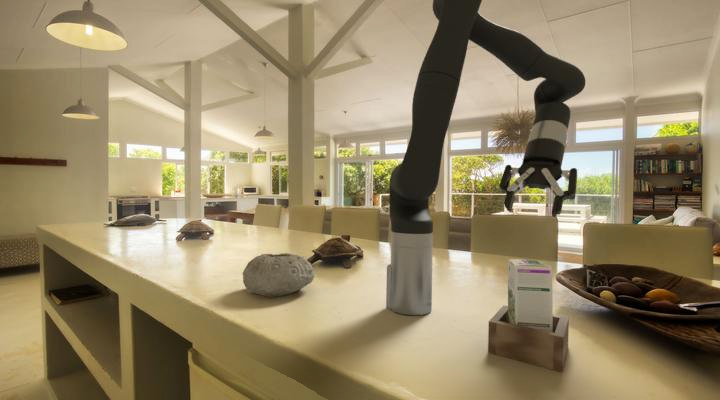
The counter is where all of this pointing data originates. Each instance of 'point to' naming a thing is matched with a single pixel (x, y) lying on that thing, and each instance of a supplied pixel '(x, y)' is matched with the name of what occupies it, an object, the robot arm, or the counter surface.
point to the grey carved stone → (277, 274)
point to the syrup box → (530, 294)
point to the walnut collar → (529, 341)
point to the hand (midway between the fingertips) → (530, 212)
